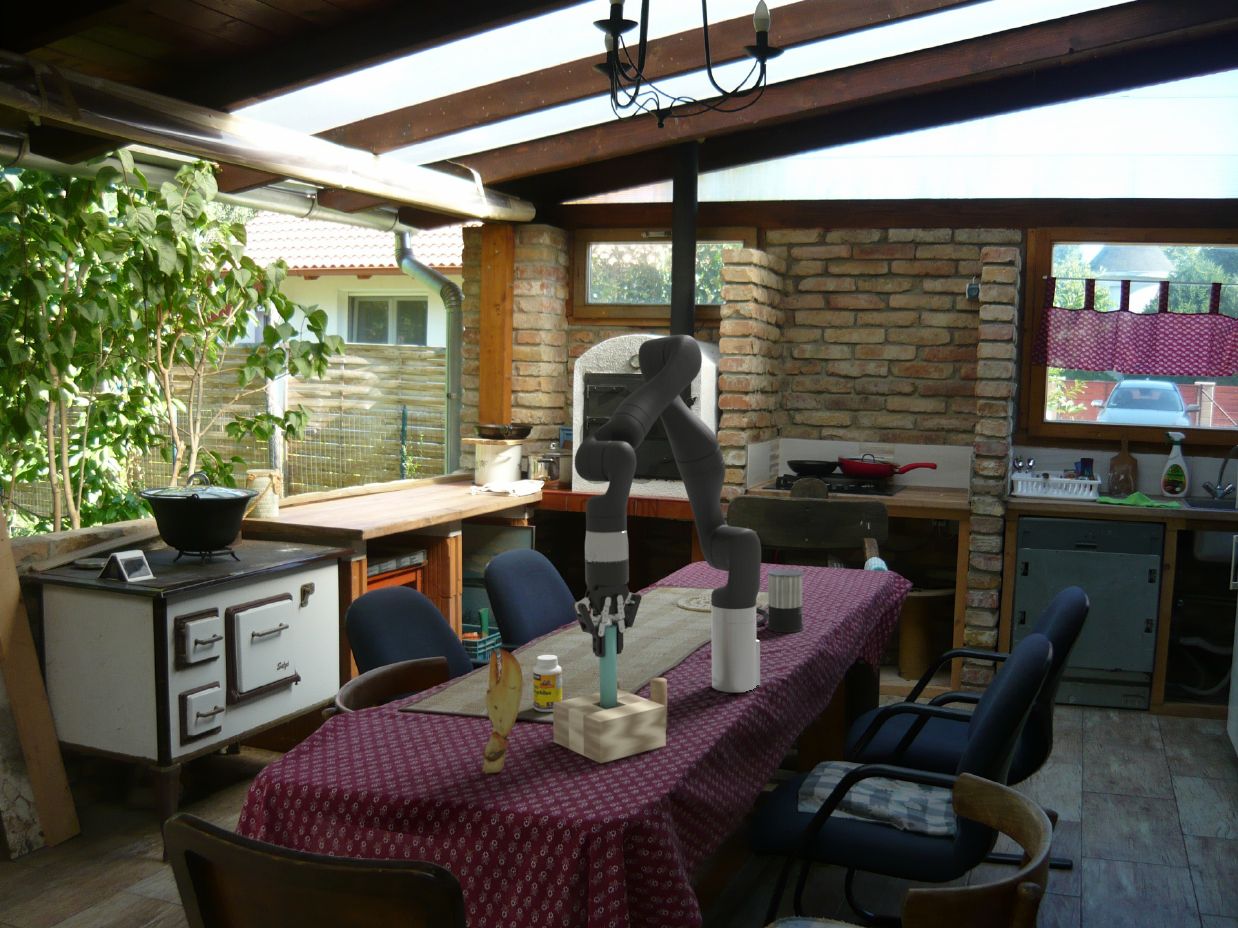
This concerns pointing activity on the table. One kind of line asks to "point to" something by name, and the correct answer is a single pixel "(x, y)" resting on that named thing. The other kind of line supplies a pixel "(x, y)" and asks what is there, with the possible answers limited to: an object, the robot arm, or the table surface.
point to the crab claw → (501, 707)
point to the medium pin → (659, 692)
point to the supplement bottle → (547, 683)
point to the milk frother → (783, 601)
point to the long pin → (609, 669)
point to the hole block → (609, 726)
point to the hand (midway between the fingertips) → (608, 654)
